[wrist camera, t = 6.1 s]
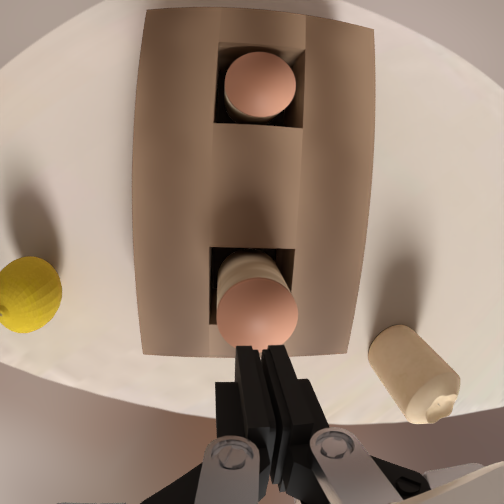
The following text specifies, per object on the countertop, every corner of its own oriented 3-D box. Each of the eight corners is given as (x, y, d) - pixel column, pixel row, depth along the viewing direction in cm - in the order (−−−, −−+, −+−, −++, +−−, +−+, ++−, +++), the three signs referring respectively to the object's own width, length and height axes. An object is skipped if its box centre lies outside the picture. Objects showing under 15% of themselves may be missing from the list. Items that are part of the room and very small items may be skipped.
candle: (396, 313, 28) (456, 371, 18) (423, 340, 29) (477, 395, 20) (356, 355, 29) (401, 424, 19) (386, 378, 30) (430, 441, 21)
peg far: (280, 78, 21) (296, 55, 16) (277, 129, 23) (294, 119, 17) (225, 75, 21) (226, 49, 16) (222, 126, 22) (222, 114, 17)
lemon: (82, 262, 24) (36, 301, 16) (68, 315, 25) (27, 363, 18) (32, 235, 23) (-23, 262, 15) (21, 288, 24) (-28, 326, 16)
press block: (342, 54, 21) (373, 29, 16) (323, 316, 27) (346, 353, 21) (162, 41, 20) (146, 9, 14) (157, 315, 26) (143, 354, 20)
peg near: (281, 249, 21) (302, 280, 15) (276, 306, 22) (293, 351, 16) (218, 248, 20) (216, 279, 15) (217, 306, 21) (216, 352, 16)
